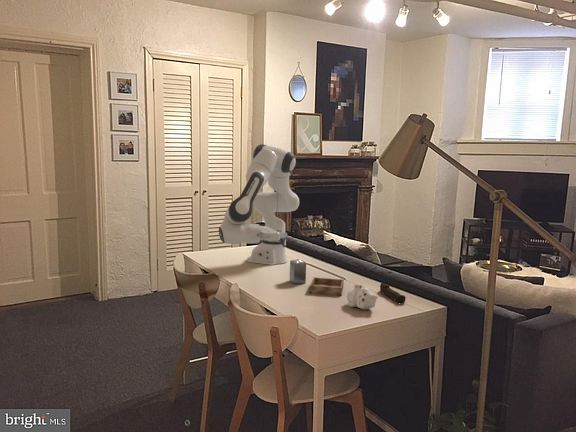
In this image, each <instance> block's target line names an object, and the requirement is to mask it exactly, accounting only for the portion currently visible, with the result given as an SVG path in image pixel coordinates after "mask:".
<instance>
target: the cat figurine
mask: <svg viewBox="0 0 576 432" xmlns="http://www.w3.org/2000/svg"><path fill="white" fill-rule="evenodd" d="M353 286H354V288H353V289H352V290H350V291H349V292H348V293H347V294H346V301H347V302H348V303H347V306H348V307H349V308H355V307H357V308H359V309H360V310H364V311H365V310H370V309H372V308H375V307H376V302H377V299H378V298H379V296H378V295H375V294H374V293H373V292H372V291H370V290H369V288H367V287H363V285H362V284H354V285H353Z"/></svg>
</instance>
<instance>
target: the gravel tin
mask: <svg viewBox="0 0 576 432" xmlns="http://www.w3.org/2000/svg"><path fill="white" fill-rule="evenodd" d="M289 262H290V263H289V282H290V283H291V284H293V285H304V284H306V280H307V262H306V261H305V260H303V259H299V258H298V259H294V260H291V259H290V261H289Z"/></svg>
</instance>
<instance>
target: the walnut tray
mask: <svg viewBox="0 0 576 432" xmlns="http://www.w3.org/2000/svg"><path fill="white" fill-rule="evenodd" d="M344 281H345V279H340V278H327V277H326V278H325V277H313V279H312V281H311V283H310V285H309V294H317V295H328V296H338V297H339V296H340V297H342V294H343V290H344V284H345V282H344Z"/></svg>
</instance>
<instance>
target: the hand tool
mask: <svg viewBox="0 0 576 432" xmlns="http://www.w3.org/2000/svg"><path fill="white" fill-rule="evenodd" d="M379 288H380V289H379V290H380V293H381V294H383V295H385V296H388V297H389V298H390V299H391V300H393V301H395V302H396V304H397V303H403V304H405V303H406V300H407V299H406V296H405V295H404V294H400V293H399V292H398V291H396V290H394V289H392V288H390V285H389V284H388V283H385V282H381V283H380V285H379Z"/></svg>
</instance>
